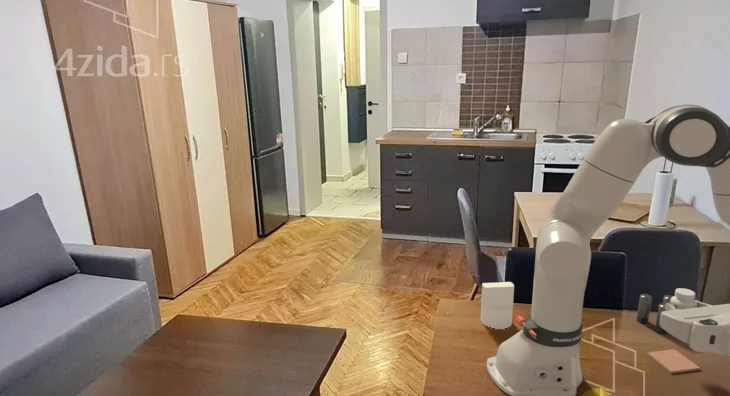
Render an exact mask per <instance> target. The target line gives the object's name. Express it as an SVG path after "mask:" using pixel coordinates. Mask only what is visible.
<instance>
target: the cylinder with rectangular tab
mask: <svg viewBox="0 0 730 396" xmlns="http://www.w3.org/2000/svg"><path fill="white" fill-rule="evenodd" d="M514 293H515V285H514V283H513V282H511V281H502V282H501V281H500V282H482V284H481V305H480V306H481V307H480V322H481V321H482V323H483V324H485V325H486V326H488V327H487V328H489V327H491V328H490V329H492V328H495V329H494V330H497V329H502V330H506V329H505V328H507V329H509V328H510V327H511V326H512V325H513V324H512V323H513V308H514V295H515V294H514ZM482 323H481V324H482ZM483 324H482V325H483ZM485 325H484V326H485ZM486 326H485V327H486ZM508 327H509V328H508Z"/></svg>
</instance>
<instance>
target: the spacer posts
mask: <svg viewBox="0 0 730 396" xmlns="http://www.w3.org/2000/svg"><path fill="white" fill-rule="evenodd" d="M672 297H673V295H668V294H664V296H663V298H662V299H663V300H662V303H659V304H658V309H657V313H656V315H657V316H656V319H655V321H656V322H655V327H654V332H656V333H657V334H660V335H667V334H669V333H668V332H667V331H665V330H664V329H663V328H662V327H661V326H660V316H661V312H663V311H667V310H665V304H666V303H670V300H671V298H672ZM652 301H653V296H652V295H650V294H647V293H642V294H640V295H639V301H638V307H637V308H638V309H637V314H636V321H637V323H640V324H645V325H646V324H649V323H650V322H649V321H650V314H651V308H652V307H651V306H652Z"/></svg>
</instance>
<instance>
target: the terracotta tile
mask: <svg viewBox="0 0 730 396" xmlns="http://www.w3.org/2000/svg"><path fill="white" fill-rule="evenodd" d="M646 356H647V357H649V358H650V359H652V361H654V362H655V363H657V364H658V365H659V366H661V367H662V368H663V369H664V370H665V371H667V372H668V373H669V374H678V373H679V374H680V373H685V372H693V371H700V370H701V367H700V366H699V365H697V364H696V363H694V362H693V361H691V360H690V359H689V358H687V357H686V356H685V355H683V354H682V353H680V352H679V351H678V350H676V349H674V348H673V349H665V350H657V351H656V350H655V351H649V352H646Z"/></svg>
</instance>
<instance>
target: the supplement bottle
mask: <svg viewBox="0 0 730 396" xmlns="http://www.w3.org/2000/svg"><path fill="white" fill-rule="evenodd" d="M674 290H675V291H674V296H673V295H672V296H673V297H672V298H671V300H670V303H673V304H675V305H676V309H688V308H696V307H697V303H696V302H695V301H694V300H696V292H695V291H693V290H691V289H688V288H682V287H680V288H679V287H678V288H676V289H674Z"/></svg>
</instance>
